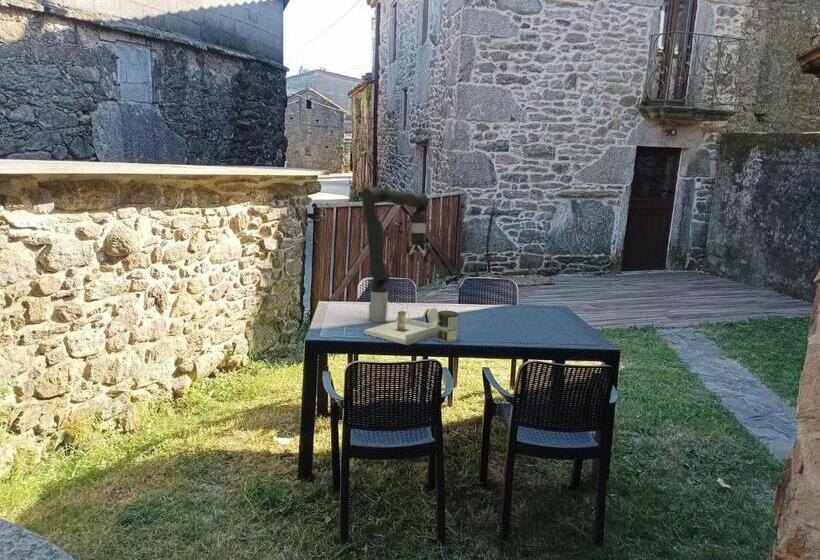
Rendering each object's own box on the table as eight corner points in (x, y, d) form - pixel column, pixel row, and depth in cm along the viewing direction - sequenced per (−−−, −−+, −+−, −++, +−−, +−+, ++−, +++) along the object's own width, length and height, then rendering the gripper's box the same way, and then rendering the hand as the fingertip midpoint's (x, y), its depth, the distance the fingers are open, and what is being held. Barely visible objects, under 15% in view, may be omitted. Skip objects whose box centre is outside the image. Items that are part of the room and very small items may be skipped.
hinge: (434, 328, 347) (429, 310, 347) (426, 330, 349) (421, 312, 348) (443, 322, 363) (438, 305, 362) (435, 323, 364) (430, 307, 364)
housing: (364, 334, 328) (364, 325, 327) (397, 325, 350) (398, 316, 350) (407, 345, 312) (407, 335, 311) (439, 334, 334) (439, 325, 333)
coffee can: (436, 341, 320) (438, 314, 318) (436, 336, 330) (437, 310, 328) (457, 342, 320) (458, 315, 318) (456, 337, 330) (457, 311, 328)
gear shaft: (395, 334, 331) (396, 312, 329) (400, 332, 335) (400, 310, 332) (401, 335, 329) (402, 313, 327) (406, 334, 332) (407, 312, 330)
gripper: (403, 231, 333) (403, 262, 336) (425, 232, 325) (425, 264, 327) (411, 230, 339) (411, 260, 342) (433, 231, 331) (433, 262, 333)
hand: (418, 262), depth 334 cm, fingers open, 8 cm apart
